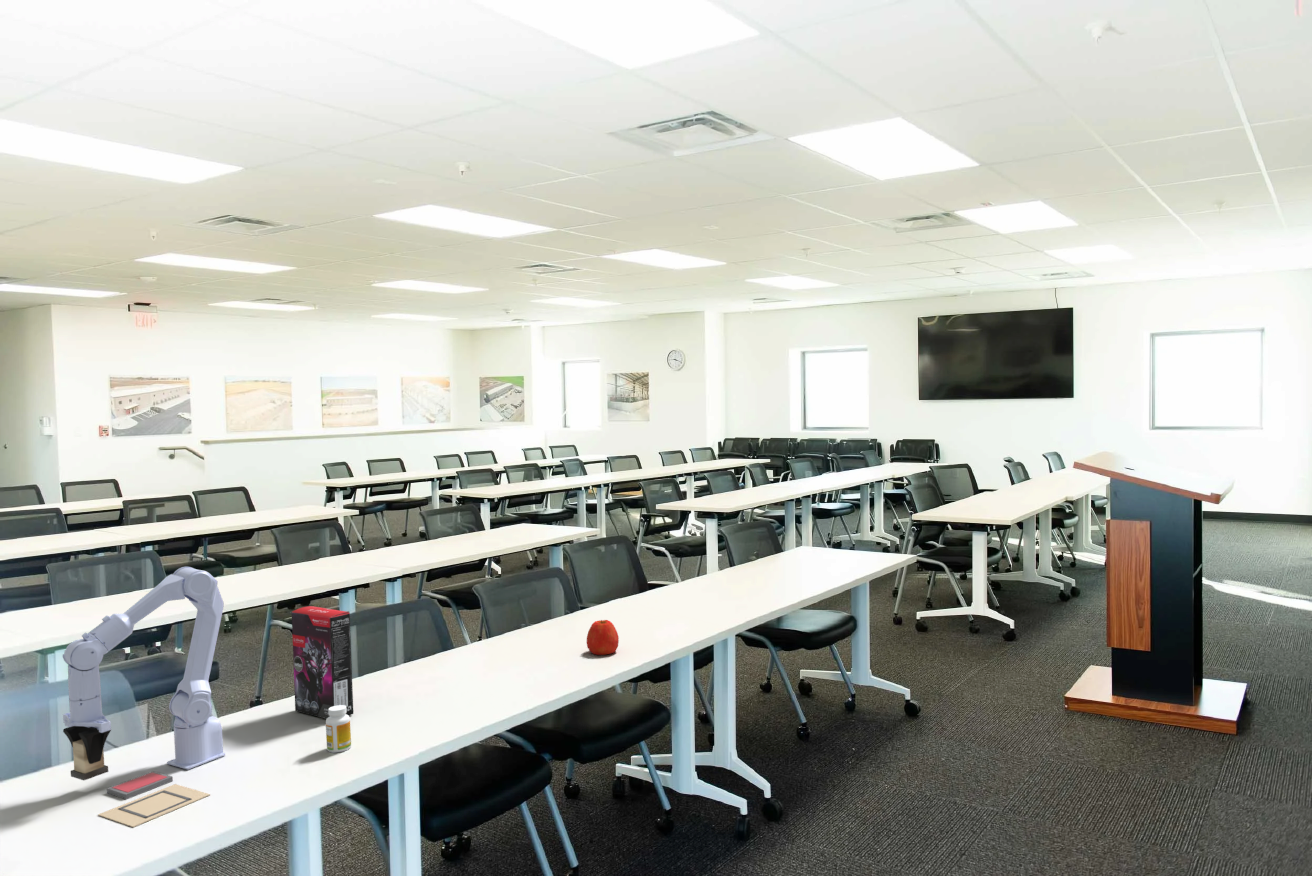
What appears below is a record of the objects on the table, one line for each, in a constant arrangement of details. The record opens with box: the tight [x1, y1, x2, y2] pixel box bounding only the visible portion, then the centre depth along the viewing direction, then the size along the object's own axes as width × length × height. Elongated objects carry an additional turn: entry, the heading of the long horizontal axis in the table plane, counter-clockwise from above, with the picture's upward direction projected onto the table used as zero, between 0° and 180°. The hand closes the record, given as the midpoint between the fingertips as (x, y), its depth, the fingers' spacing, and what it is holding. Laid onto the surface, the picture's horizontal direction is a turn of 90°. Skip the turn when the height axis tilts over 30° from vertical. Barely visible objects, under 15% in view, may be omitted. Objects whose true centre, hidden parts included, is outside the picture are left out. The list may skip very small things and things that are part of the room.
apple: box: [586, 619, 620, 656], centre depth 287 cm, size 10×10×10 cm
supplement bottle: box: [325, 705, 352, 753], centre depth 211 cm, size 5×5×10 cm
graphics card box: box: [291, 605, 354, 720], centre depth 236 cm, size 17×7×27 cm, turn 56°
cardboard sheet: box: [97, 783, 211, 828], centre depth 183 cm, size 16×12×1 cm
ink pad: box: [106, 770, 174, 800], centre depth 192 cm, size 10×7×1 cm
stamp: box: [70, 739, 109, 781], centre depth 191 cm, size 5×5×7 cm
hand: (88, 760), depth 191 cm, fingers closed on stamp, 4 cm apart
